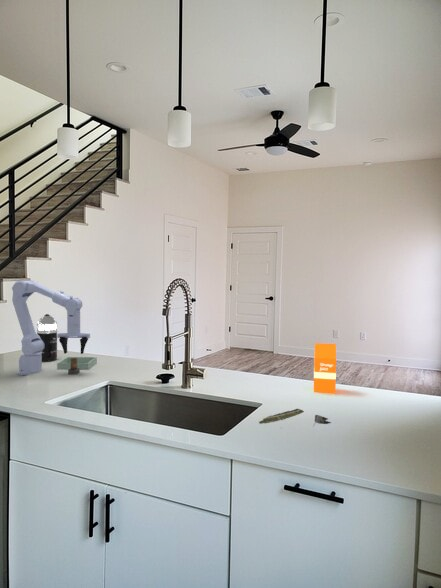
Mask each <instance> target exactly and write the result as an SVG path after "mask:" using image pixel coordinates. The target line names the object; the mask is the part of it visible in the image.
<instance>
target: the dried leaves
mask: <svg viewBox="0 0 441 588" xmlns="http://www.w3.org/2000/svg"><path fill="white" fill-rule="evenodd" d="M304 412H305V411H304V410H303V409H300V408H295V409H292V410H286V411H282V412H280V413H276V414H273V415H269V416H267V417H264V418H262V420H260V421H258V423H259V425H260V424H261V425H262V424H270V423H275V422H279V421H284V420H286V419H289V418H292V417H296V416H298V415H301V414H302V413H304ZM328 419H329V418H327V417H324V416H322V415H319V414H315V416H314V425H313V426H312V427H314V426H315V425H316V424H321V425H329V424H331V423H332V422H331V421H327V420H328ZM280 429H283V427H280Z"/></svg>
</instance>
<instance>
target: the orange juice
mask: <svg viewBox="0 0 441 588" xmlns="http://www.w3.org/2000/svg"><path fill="white" fill-rule="evenodd" d="M313 358H314V361H313V393H319V394H336V387H337V386H336V383H337V382H336V380H337V344H336V343H319V342H318V343H317V342H315V344H314V357H313Z"/></svg>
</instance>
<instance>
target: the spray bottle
mask: <svg viewBox="0 0 441 588" xmlns="http://www.w3.org/2000/svg"><path fill="white" fill-rule="evenodd" d="M36 328H37V329H36V334H38V335H39V336H40V338H41V340H42V341H43V342H44V349H43V350H42V362H53V361H56V360H57V359H58V338H57V334H58V323H57V320H56V319H55V318H54V317H53V316H51V315H50V314H49V313H46V314H44V315H43V316H42V317H41V318H40V319H38V321H37V324H36Z"/></svg>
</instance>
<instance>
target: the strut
mask: <svg viewBox="0 0 441 588" xmlns="http://www.w3.org/2000/svg"><path fill="white" fill-rule="evenodd" d="M70 363H71V368H70V369H67V374H68V375H78V374H79V373H81V372H80V371H81V370H80V368H77V358H70Z"/></svg>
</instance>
